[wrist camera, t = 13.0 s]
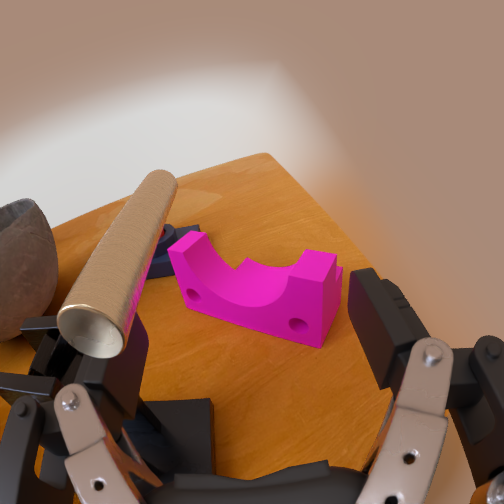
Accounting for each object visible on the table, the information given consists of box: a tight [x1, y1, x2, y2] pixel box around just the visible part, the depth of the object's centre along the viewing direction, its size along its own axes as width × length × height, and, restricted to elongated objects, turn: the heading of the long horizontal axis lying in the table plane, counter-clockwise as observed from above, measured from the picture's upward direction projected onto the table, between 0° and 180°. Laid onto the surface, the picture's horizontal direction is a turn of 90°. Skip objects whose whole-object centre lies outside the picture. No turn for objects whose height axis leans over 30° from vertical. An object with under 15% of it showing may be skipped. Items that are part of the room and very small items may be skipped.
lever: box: [28, 170, 178, 387], centre depth 10 cm, size 12×8×2 cm
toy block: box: [167, 231, 343, 349], centre depth 28 cm, size 15×6×8 cm, turn 61°
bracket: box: [0, 315, 216, 494], centre depth 14 cm, size 12×9×13 cm
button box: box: [146, 224, 200, 279], centre depth 40 cm, size 12×9×4 cm
